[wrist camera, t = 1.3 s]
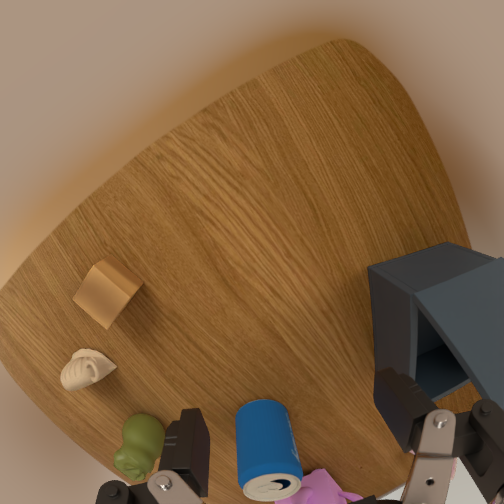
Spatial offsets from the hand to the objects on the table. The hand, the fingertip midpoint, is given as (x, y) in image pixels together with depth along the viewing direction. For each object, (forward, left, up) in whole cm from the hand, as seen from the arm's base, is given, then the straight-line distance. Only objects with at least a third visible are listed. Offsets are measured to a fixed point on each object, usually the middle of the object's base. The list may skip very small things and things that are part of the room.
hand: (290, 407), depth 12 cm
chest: (-9, +17, -18) cm, 27 cm away
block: (+10, -11, -18) cm, 23 cm away
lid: (-12, +14, -2) cm, 18 cm away
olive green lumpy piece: (+24, +2, -18) cm, 30 cm away
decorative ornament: (+21, -8, -19) cm, 29 cm away
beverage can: (+13, +12, -19) cm, 26 cm away
